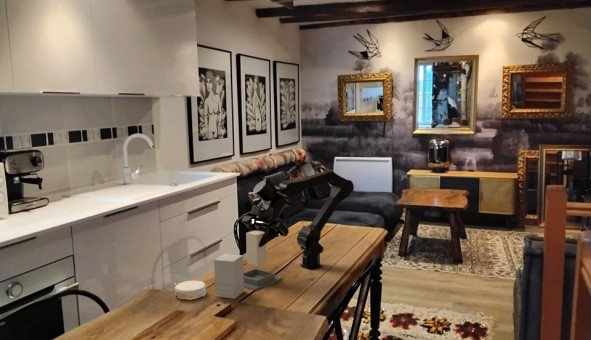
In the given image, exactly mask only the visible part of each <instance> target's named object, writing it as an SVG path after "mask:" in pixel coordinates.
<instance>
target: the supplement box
mask: <svg viewBox="0 0 591 340" xmlns="http://www.w3.org/2000/svg"><path fill="white" fill-rule="evenodd" d="M213 263H214V292H215V295H214V296H215V297H218V298H224V299H234V300H235V299H237V298H238V297H239V296H240V295H242V293H244V292H245V287H244V278H243V273H244V255H241V254H230V253H223V254H222V255H220V256H218V257H216V258H215V259H214V260H213Z"/></svg>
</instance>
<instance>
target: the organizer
mask: <svg viewBox="0 0 591 340" xmlns="http://www.w3.org/2000/svg"><path fill="white" fill-rule="evenodd" d="M243 278H244V289H249V290H252V291H257V290H261V289H262V288H265V287H267V286H269V285H271V284H275V283H277V282H279V281H281V280H283V278H282V277H281V276H276V273H275V272H272V271H267V270H264V269H260V268H257V267H255V268H253V269H249V270H246V271H243Z"/></svg>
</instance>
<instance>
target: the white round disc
mask: <svg viewBox="0 0 591 340" xmlns="http://www.w3.org/2000/svg"><path fill="white" fill-rule="evenodd" d="M174 291H175V292H177V293H180V294H185V295H190V296H204V297H205V296H206V295H207V283H205V282H203V281H202V280H201V281H200V280H186V281H181V282H178V283H177V284H176V285H175V286H174ZM175 292H174V293H175Z"/></svg>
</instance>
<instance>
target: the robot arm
mask: <svg viewBox="0 0 591 340" xmlns="http://www.w3.org/2000/svg"><path fill="white" fill-rule="evenodd" d="M326 183H327V184H328V185H330V186H331V188H330V193H329V196H328V197H327V199H326V201H325V202H324V204H323V205H322V206H321V208H320V210H318V213H317V214H316V216H315V217H314V218H313V220H312V222H311V223H310V224H309V225H308V226H306V225H303V226H302V227H301V229H300V230H299V232H297V236H296V241H297V242H296V243H297V244H298V246H299V247H300V249H301V250H302V256H301V258H302V260H301V261H302V264H300V267H303V268H305V269H307V270H309V271H310V270H315V269H318V268H319V269H320V268H322V267H323V264H321V254H322V253H323V251H324V246H323V245H322V244H320V240H321V235H322V231H323V229H324V228H325V227H326V224H327V223H328V222H329V221H330V218H331V217H332V215H333V214H334V212H335V211H336V209H337V208H338V206H339V205H340V204H341V202H342V201H344V200H346V199H347V198H348V197H350V195H351V194H352V193H353V191H354V189H355V186H354V182H353V181H352V180H351V179H346V178H344V177H343V176H341V175H339V174H337V173H336V172H335V171H333V170H323V171H322V172H318V173H315V174H313V175H312V174H311V175H310V176H309V175H308V176H305V177H303V178H299V179H287V180H283V181H281V182H280V183H279V184H275V185H274V184H273V183H272V182H271V181H270V180H269V179H268V178H264V179H263V180H262V181H260V182H258V183H257V184H255V186H254V188H253V193H254V194H255V195H256V196H257V197H258V198H260V200H262V201H263V202H264V203H266V202H268V204H266V205H265V206H262V205H261V206H260V205H255V204H254V205H252V207H251V211H250V215H244V216H243V217H242V218H241V222H242V223H243V224H244V225H245V226H246V227H247V229H248V230H249V231H248V232H251V231H255V230H257V231H260V230H259V228H263V229H265V230H264V232H265V233H264V235H263V237H262V239H261V241H260V243H259V245H258V246H259V247H262V246H263V245H265V244H266V245H267V244H268V243H269V242H271V241H273V240H274V239H276V238H279V237H280V236H281V237H288V235H289V233H290V230H289V227H288V226H286V224H285V223H284V222H283V221H280V220H281V219H282V216H281V214H282V212H283V210H284V209H285V208H288V207H291V206H292V203H291V200H290V199H292V198H296V197H297V196H299V195H301V194H302V193H303V192H304V191H306V190H308V189H312V188H314V187H318V186H320V185H324V184H326ZM285 197H288V199H287V198H285ZM289 198H290V199H289ZM253 215H254V216H256V218H255V217H254V216H253Z"/></svg>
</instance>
